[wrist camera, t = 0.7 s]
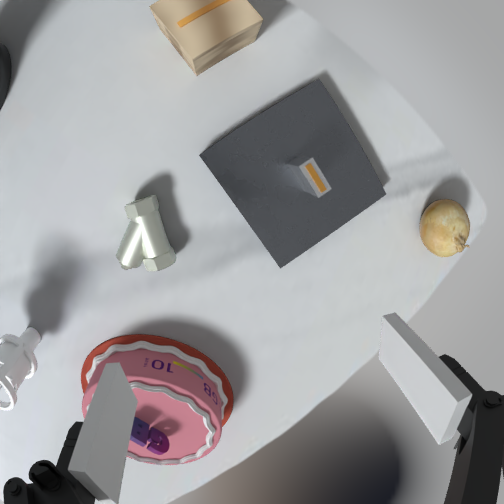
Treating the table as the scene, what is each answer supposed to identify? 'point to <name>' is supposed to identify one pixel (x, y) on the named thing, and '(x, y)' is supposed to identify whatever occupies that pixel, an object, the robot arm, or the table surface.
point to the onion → (444, 228)
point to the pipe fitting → (145, 238)
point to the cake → (165, 396)
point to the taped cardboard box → (207, 28)
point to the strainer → (17, 362)
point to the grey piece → (295, 172)
